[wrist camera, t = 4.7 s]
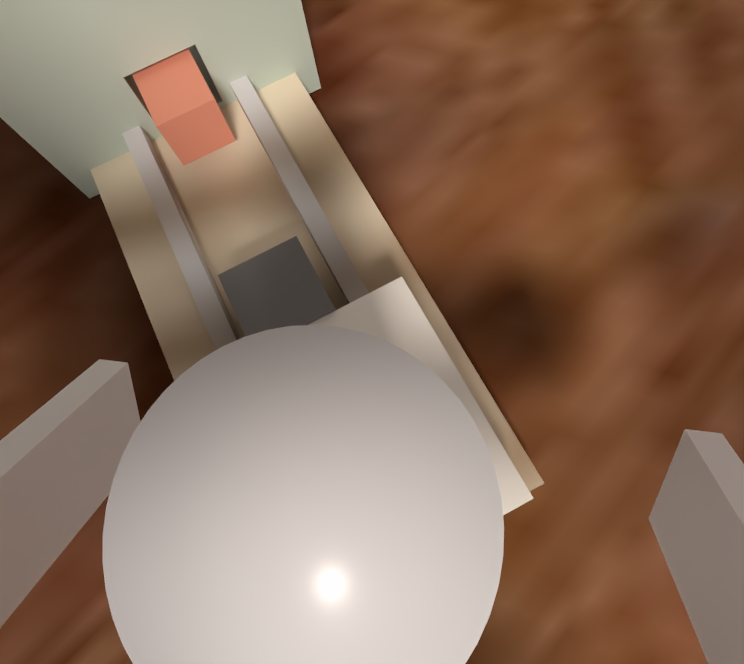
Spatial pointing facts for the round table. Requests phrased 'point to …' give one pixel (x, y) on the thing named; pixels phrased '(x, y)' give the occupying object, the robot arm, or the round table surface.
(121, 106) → the gauge cabinet
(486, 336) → the round table surface
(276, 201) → the rail track
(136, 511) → the carriage
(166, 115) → the block
